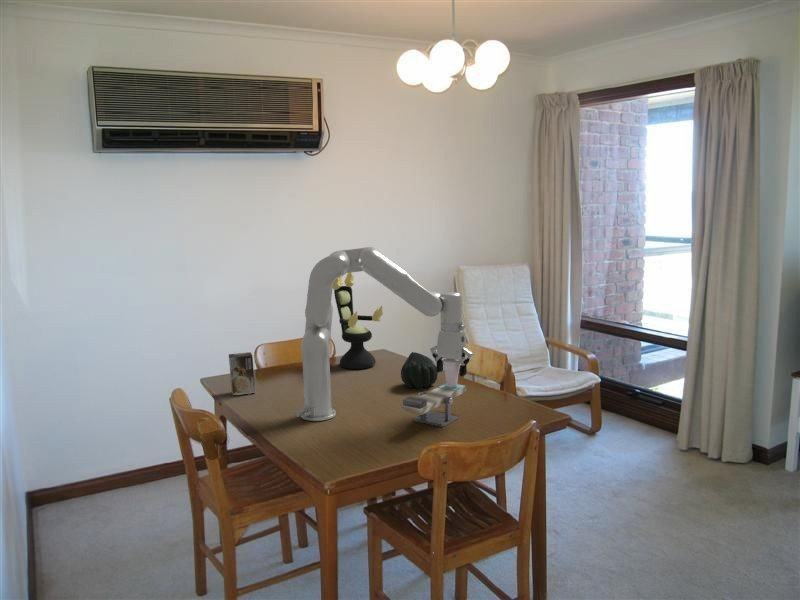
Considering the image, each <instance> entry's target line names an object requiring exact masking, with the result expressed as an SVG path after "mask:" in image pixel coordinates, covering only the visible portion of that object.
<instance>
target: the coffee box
mask: <svg viewBox="0 0 800 600" xmlns="http://www.w3.org/2000/svg"><path fill="white" fill-rule="evenodd" d="M253 358H254V357H253V354H252V352H250V351H249V352H242V353H241V352H238V353H229V354H228V363H229V365H228V366H229V376H230V377H229V379H230V390H232V392H231V395H232V394H235V393H250V392H255V393H256V384H255V372H254V371H255V370H254V360H253Z"/></svg>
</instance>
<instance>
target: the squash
mask: <svg viewBox="0 0 800 600" xmlns="http://www.w3.org/2000/svg"><path fill="white" fill-rule="evenodd" d="M435 363H436V362H434V361H433V359H431V358H430V357H428V356H426V355H424V354H421V353H418V352H414V351H411V353H409V355H408V357H407V359H406V360H405V362H404V363H403V365H402V366H401V369H400V378H401V380H402V382H403V383H404V384H405V386H408V387H409V388H411V389H417V390H420V389H423V387H425V388H427V387H429V386H432V385H434V384H435V383H436V381H437V380H438V372H437V365H436V364H435Z"/></svg>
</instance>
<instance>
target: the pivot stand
mask: <svg viewBox="0 0 800 600" xmlns="http://www.w3.org/2000/svg"><path fill="white" fill-rule="evenodd" d="M425 393H427V392H425V391H421V392H418V393H417V397H419V396H421V395H423V394H425ZM453 403H454V398H453V399H452V398H451V397H446V398H445V403H444V413H443V412H439V411H435V410H430V411H428V412H426V413H424V414H423V415H419V414H418V415H417V416H415V417H413V418H412V419H413V420H412V421H413V422H416V423H420V422H421V424H425V423H426V424H425V425H429V424H430V426H434V425H435V426H434V427H438V426H439V428H444V427H446V426H448V425H449V424H452V423H453V422H455V421H457V420H458V415H452V404H453Z"/></svg>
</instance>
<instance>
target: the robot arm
mask: <svg viewBox="0 0 800 600" xmlns="http://www.w3.org/2000/svg"><path fill="white" fill-rule="evenodd" d="M351 272H352V273H358V272H359V273H360V272H364V273H366V274H367V275H368V276H370V277H371V278H373V279H374V280H376V281H377V282H379V283H380V284H381V285H383V286H384V287H386V288H387V289H388V290H389V291H391V292H392V293H393V294H394V295H396V296H398V297H399V298H400V299H402V300H404V302H406V303H407V304H409V305H410V306H412V308H414V309H416V310H417V311H419V313H421V314H423V315H424V316H427V317H431V318H432V317H435V316H438V315H439V314H440V329H439V331H438V335H437V336H438V337H437V344H436V345H435V346H433V347H430V348H429V349H430V352H431V355H432V357H433V358H434V361H435V363H436V364H435V365H436V367H437V372H438V373H441V372H443V371H444V364H443V360H444V359H447V358H448V359H455V360H459V362H460V364H459V376H460V377H464V376H466V374H467V369H468V368H467V366H468V364H469V363H470V362H471V361H472V358H473V356H474V354H473V352H472V351H470V350H469V349H467V342H466V334H465V331H464V330H465V325H463V315H462V314H463V313H462V312H463V309H462V307H463V304H462V302H463V301H462V300H463V299H462V298H463V297H462V294H461V293H459V292H454V291H450V292H438V291H437V292H435V291H429V290H428V289H426V288H424V287H423V286H422V285H421V284H419V283H418V282H417V281H416V280H415V279H413V278H412V276H411V275H410V274H409V273H408V272H407V271H406V270H404V269H403V268H402V267H400V266H399V265H397V264H396V263H394V262H393V261H391V260H390V259H389V258H388V257H387V256H384V255H383V254H382V253H381V252H380V251H379V249H377V248H375V247H372V246H368V247H365V246H364V247H359V248H351V249H344V250H336V251H334V252H332V253H330V254H329V255H328V256H326V257H324V258H322V259H321V260H319V261H318V262H317V263H315V265H314V266H313V267H312V269H311V272H310V274H309V279H308V285H307V293H306V294H307V295H306V305H305V309H304V310H305V311H304V316H305V326H304V327H305V329H304V333H303V334H304V335H303V337H302V340H301V345H300V349H301V360H302V375H303V396H304V400H303V401H304V405H302V408H301V409H300V410H297V411H296V412H295V416H296V418H301V419H303V420H306V421H309V422H310V421H311V422H321V421H327V420H331V419H333V418H334V417H335V416H336V415H337V411H336V410H335V409H334V408H332V395H331V394H332V391H331V390H332V389H331V388H332V387H331V370H330V368H331V366H330V365H331V364H330V342H331V335H332V324H333V313H334V307H333V304H332V297H333V283H334V281H335V279H337V278H338V277H341V276H342V277H343V276H345V275H347V274H348V273H351Z"/></svg>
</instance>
